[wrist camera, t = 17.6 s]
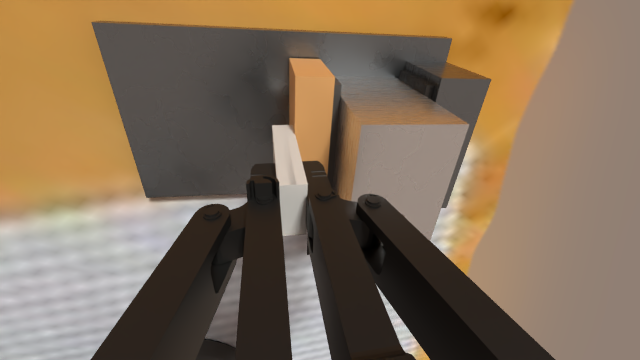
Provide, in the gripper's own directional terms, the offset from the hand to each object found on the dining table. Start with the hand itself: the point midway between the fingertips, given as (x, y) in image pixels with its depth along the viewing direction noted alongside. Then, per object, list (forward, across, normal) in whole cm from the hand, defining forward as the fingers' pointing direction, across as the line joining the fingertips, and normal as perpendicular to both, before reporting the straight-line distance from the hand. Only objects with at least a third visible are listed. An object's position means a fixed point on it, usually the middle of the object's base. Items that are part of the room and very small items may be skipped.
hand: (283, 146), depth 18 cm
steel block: (+4, -6, 0) cm, 7 cm away
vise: (+5, -1, 0) cm, 5 cm away
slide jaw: (+4, -2, 0) cm, 4 cm away
